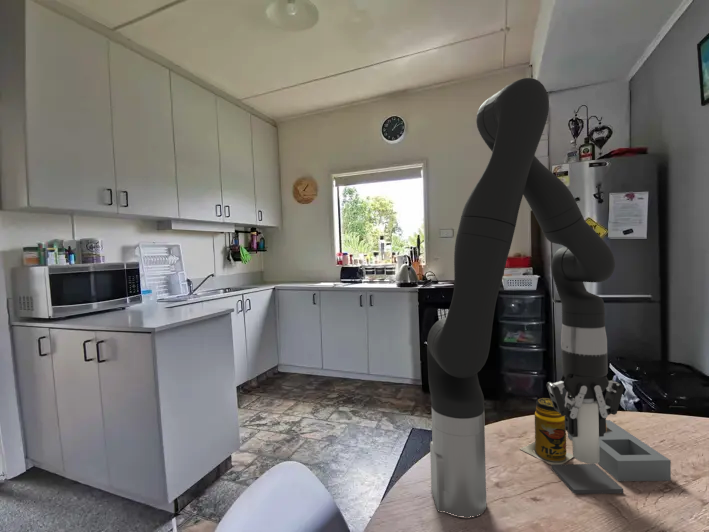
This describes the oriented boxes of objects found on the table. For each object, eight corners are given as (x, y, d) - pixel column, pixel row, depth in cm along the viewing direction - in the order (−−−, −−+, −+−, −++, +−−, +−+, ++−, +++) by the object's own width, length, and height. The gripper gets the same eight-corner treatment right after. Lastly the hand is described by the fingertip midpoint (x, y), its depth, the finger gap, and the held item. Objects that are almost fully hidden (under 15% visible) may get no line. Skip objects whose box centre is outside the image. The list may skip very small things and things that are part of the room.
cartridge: (581, 464, 67) (579, 401, 67) (568, 451, 72) (566, 392, 71) (605, 463, 67) (603, 400, 67) (590, 451, 72) (588, 392, 71)
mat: (574, 493, 66) (573, 489, 66) (551, 468, 74) (551, 464, 74) (623, 493, 66) (623, 489, 66) (595, 467, 74) (595, 463, 74)
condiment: (556, 468, 74) (556, 411, 74) (519, 449, 81) (518, 398, 81) (575, 457, 78) (574, 402, 77) (538, 440, 85) (537, 390, 85)
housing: (618, 481, 69) (617, 461, 69) (567, 437, 86) (567, 420, 86) (670, 480, 69) (670, 460, 69) (609, 436, 86) (609, 420, 86)
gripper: (556, 354, 65) (558, 446, 66) (635, 352, 65) (637, 444, 65) (536, 344, 73) (539, 426, 73) (607, 342, 72) (609, 425, 73)
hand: (585, 434), depth 69 cm, fingers closed on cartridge, 4 cm apart
